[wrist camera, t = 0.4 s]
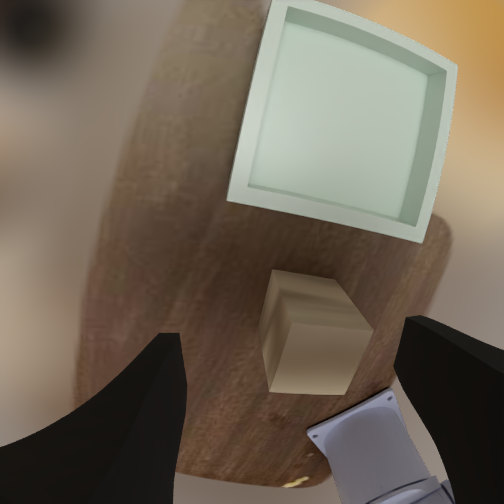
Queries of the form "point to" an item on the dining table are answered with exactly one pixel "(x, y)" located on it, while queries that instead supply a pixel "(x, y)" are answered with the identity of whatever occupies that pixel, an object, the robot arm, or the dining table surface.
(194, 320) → the dining table surface
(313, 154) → the sage tray
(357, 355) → the maple block
